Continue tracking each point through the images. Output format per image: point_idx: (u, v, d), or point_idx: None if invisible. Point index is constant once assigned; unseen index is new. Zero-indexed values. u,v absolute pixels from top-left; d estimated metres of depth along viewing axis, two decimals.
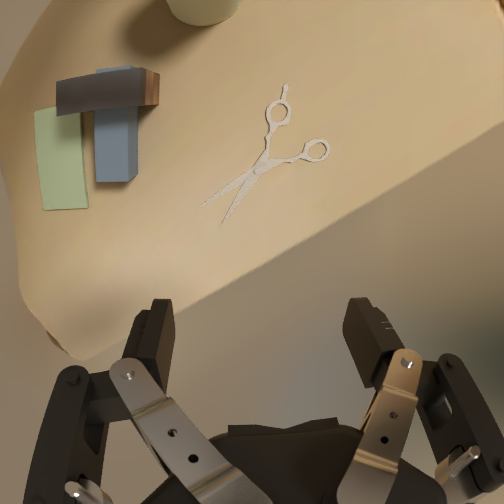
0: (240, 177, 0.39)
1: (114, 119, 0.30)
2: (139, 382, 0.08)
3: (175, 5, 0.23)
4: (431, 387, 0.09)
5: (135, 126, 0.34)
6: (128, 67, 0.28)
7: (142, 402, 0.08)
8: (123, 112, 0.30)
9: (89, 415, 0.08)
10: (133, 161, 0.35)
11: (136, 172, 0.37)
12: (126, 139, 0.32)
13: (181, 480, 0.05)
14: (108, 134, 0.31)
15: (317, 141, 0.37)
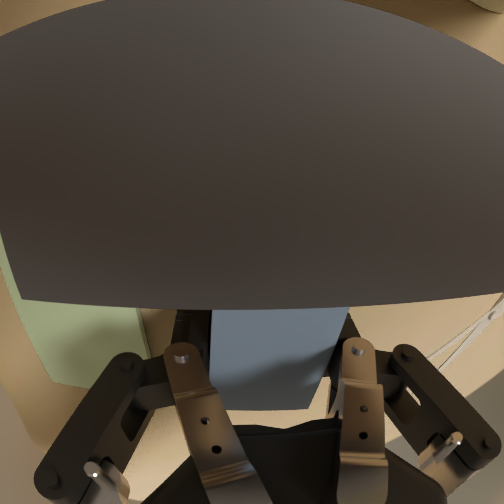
0: (469, 327, 0.18)
1: None
2: (196, 364, 0.09)
3: None
4: (385, 378, 0.09)
5: None
6: None
7: (187, 386, 0.08)
8: None
9: (134, 402, 0.09)
10: None
11: None
12: (338, 324, 0.10)
13: (197, 466, 0.06)
14: None
15: None
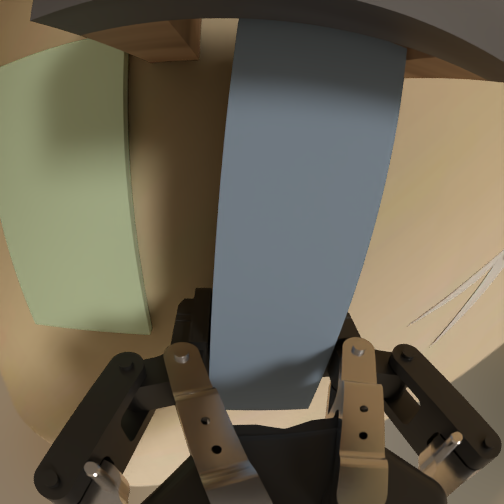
0: (485, 266, 0.16)
1: (310, 257, 0.09)
2: (196, 364, 0.09)
3: None
4: (385, 378, 0.09)
5: None
6: (399, 51, 0.06)
7: (187, 386, 0.08)
8: (354, 237, 0.08)
9: (134, 402, 0.09)
10: None
11: None
12: (338, 323, 0.10)
13: (197, 466, 0.06)
14: (274, 307, 0.09)
15: None
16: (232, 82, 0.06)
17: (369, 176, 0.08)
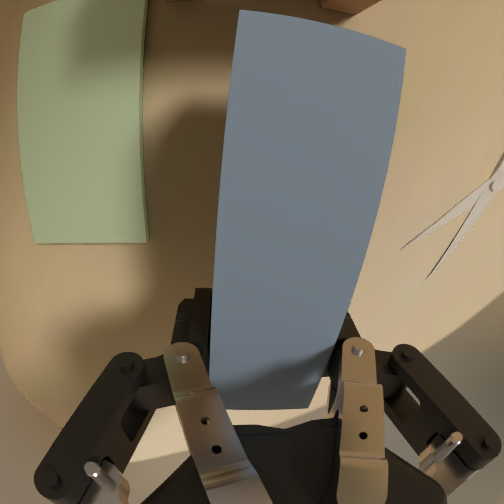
0: (471, 195, 0.17)
1: (310, 257, 0.09)
2: (196, 364, 0.09)
3: None
4: (385, 378, 0.09)
5: None
6: (398, 51, 0.06)
7: (187, 386, 0.08)
8: (353, 237, 0.08)
9: (134, 402, 0.09)
10: None
11: None
12: (337, 323, 0.10)
13: (197, 466, 0.06)
14: (274, 307, 0.09)
15: None
16: (231, 83, 0.06)
17: (368, 176, 0.08)
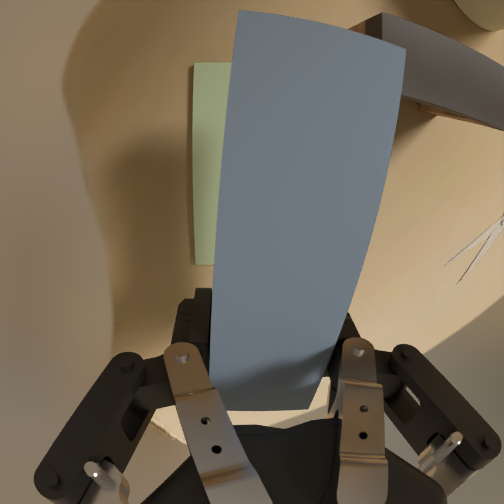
0: (488, 229, 0.25)
1: (310, 258, 0.09)
2: (196, 364, 0.09)
3: None
4: (385, 377, 0.09)
5: None
6: (398, 51, 0.06)
7: (187, 386, 0.08)
8: (353, 238, 0.08)
9: (134, 402, 0.09)
10: None
11: None
12: (338, 324, 0.10)
13: (197, 466, 0.06)
14: (274, 308, 0.09)
15: None
16: (231, 84, 0.06)
17: (368, 177, 0.08)
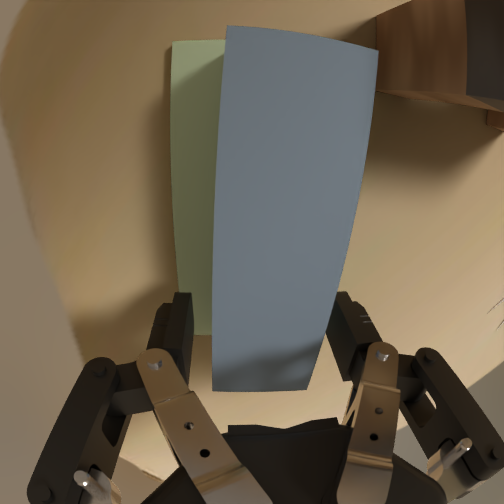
0: None
1: (299, 242, 0.10)
2: (168, 371, 0.09)
3: None
4: (408, 381, 0.09)
5: None
6: (371, 53, 0.07)
7: (164, 393, 0.08)
8: (337, 223, 0.09)
9: (111, 407, 0.08)
10: None
11: None
12: (329, 304, 0.11)
13: (189, 473, 0.05)
14: (268, 289, 0.10)
15: None
16: (222, 91, 0.07)
17: (348, 167, 0.09)
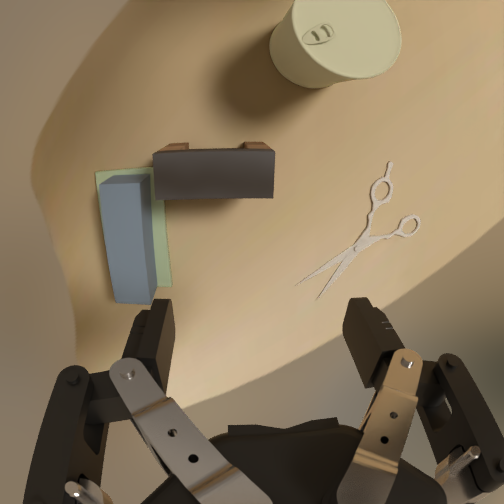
0: (340, 255, 0.39)
1: (128, 243, 0.30)
2: (139, 382, 0.08)
3: (307, 71, 0.22)
4: (431, 387, 0.09)
5: (150, 242, 0.34)
6: (137, 184, 0.28)
7: (142, 402, 0.08)
8: (138, 237, 0.30)
9: (89, 415, 0.08)
10: (152, 280, 0.35)
11: (156, 286, 0.37)
12: (144, 264, 0.31)
13: (181, 480, 0.05)
14: (123, 259, 0.31)
15: (411, 217, 0.37)
16: None
17: (136, 220, 0.29)
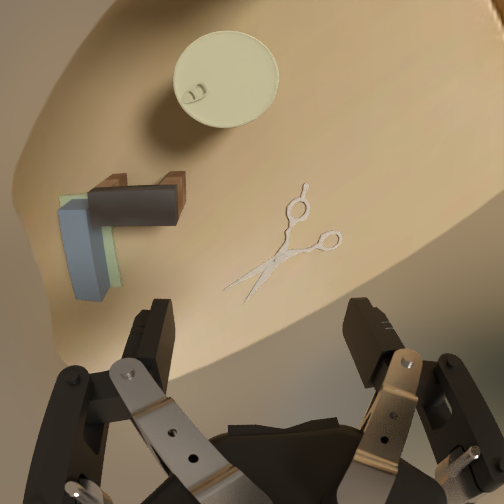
0: (261, 265, 0.45)
1: (81, 254, 0.36)
2: (139, 382, 0.08)
3: None
4: (431, 387, 0.09)
5: (101, 252, 0.40)
6: (84, 211, 0.34)
7: (142, 402, 0.08)
8: (87, 250, 0.36)
9: (89, 415, 0.08)
10: (103, 282, 0.41)
11: (108, 287, 0.43)
12: (94, 271, 0.38)
13: (181, 480, 0.05)
14: (78, 266, 0.37)
15: (331, 233, 0.43)
16: None
17: (85, 237, 0.35)
